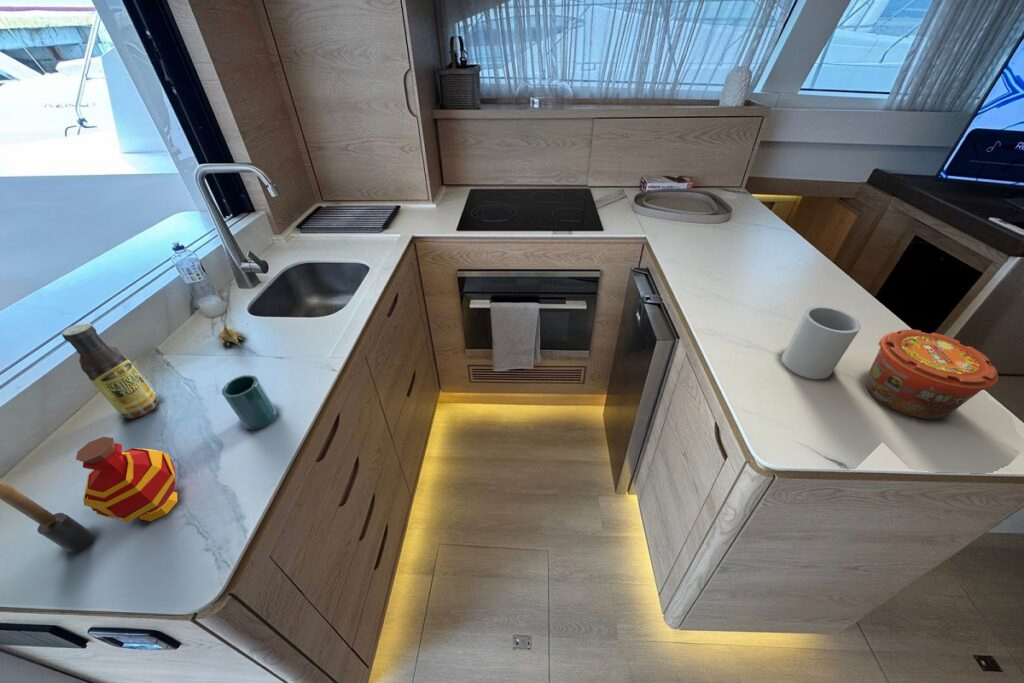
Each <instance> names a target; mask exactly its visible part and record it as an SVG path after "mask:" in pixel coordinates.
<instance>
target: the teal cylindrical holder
mask: <svg viewBox="0 0 1024 683" xmlns="http://www.w3.org/2000/svg"><path fill="white" fill-rule="evenodd" d="M221 395H222V397H223V398H224V400H225V401H226V402H227V404H228V405H229V406H230V408H231V409H232V411H233V412H234V414H235V415H236V416H237V418H238V419H239V421H240V422H241V423H242V425H243V426H244V428H245V429H247V430H251V431H257V430H260V429H263V428H266V427H267V426H269V425H270V424H272V423H273V421H275V419H276V417H277V415H278V411H277V409H276V408H275V406H274V404H273V402H272V400H271V399H270V397H269V395H268V394H267V392H266V390H265V389H264V386H262V383H261V382H260V380H259V378H258V377H257V376H255V375H252V374H243V375H239V376H237V377H235V378H233V379H231V380H230V381H228V382H226V383H225V385H224V386H223V387H222V389H221Z"/></svg>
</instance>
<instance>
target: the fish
mask: <svg viewBox="0 0 1024 683" xmlns="http://www.w3.org/2000/svg"><path fill="white" fill-rule="evenodd" d="M240 336H244V334H243V333H241V332H239V331H236V330H235V329H234V328H232V327H230V326H229V327H228V326H226V325H223V328H221V329H220V330H219V337H220V340H219V342H220V344H221V345H224V344H226V346H227V347H230V344H231V342H232V343H234V344H236V345H237V346H238V347H239V348H242V347H243V345H241V344H240V343H239V340H240V341H244V339H243V338H241V337H240Z"/></svg>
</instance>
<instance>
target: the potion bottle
mask: <svg viewBox="0 0 1024 683" xmlns="http://www.w3.org/2000/svg"><path fill="white" fill-rule="evenodd" d="M75 460H76V461H80V462H82V468H83V469H86V470H91V471H90V472H89V473H88V474H87V478H86V485H85V490H84V495H83V499H82V500H83V505H84V506H85V507H88V508H90V509H91V510H92V511H93V512H95V513H96V514H97V515H99V516H102V517H105V518H109V519H112V520H115V521H120V522H123V523H129V522H130V521H132V520H134V519H136V518H137V519H138V518H139V519H140V520H143V521H147V522H152V521H155V520H156V519H159V518H161V517H164V516H165V515H167V514H168V513H169V512H170V511H171V510H172V509H173V508H174V506H175V505H176V504H177V503H178V491H177V492H176V491H175V487H176V466H175V464H174V462H173V459H172V458H170V454H168V453H167V452H164V451H161V450H156V449H150V448H138V447H132V448H129V449H126V450H123V444H122V443H117V442H115V440H114V437H110V436H102V437H99V438H97V439H93V440H91V441H88V442H87V443H86V444H85V445H84V446H82V447H81V448H79V450H78V451H77V452H76V457H75Z"/></svg>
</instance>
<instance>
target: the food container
mask: <svg viewBox="0 0 1024 683" xmlns="http://www.w3.org/2000/svg"><path fill="white" fill-rule="evenodd" d="M878 345H879V349H878V352H877V354H876V356H875V358H874V360H873V362H872V364H871V367H870V369H869V370H868V373H867V375H866V377H865V379H864V385H865V388H866V390H867V391H868V393H869V394H870V396H871V397H873V398H874V399H875V400H876V401H878V402H879V403H881V404H883V405H884V406H886V407H887V408H889V409H891V410H893V411H895V412H897V413H900V414H903V415H906V416H909V417H912V418H916V419H920V420H941V419H944V418H947V417H948V416H949V415H951V413H953V412H954V411H956V410H957V409H959V408H960V407H962V405H964V404H966V403H967V401H969V400H971V399H972V398H974V397H975V396H976V395H978V394H979V393H980V392H981V391H985V390H988V389H991V388H993V387H994V386H995V385H997V383H998V380H999V374H998V370H997V369H996V367H995V366H994V365H993V364H992V363H991V362H990V361H991V359H989V358H988V357H987V356H986V355H985V354H984V353H982V352H981V351H979V350H978V349H976V348H974V347H973V346H965V345H964V344H961V341H960V340H958V339H955V338H953V337H949V336H947V335H944V334H940V333H936V332H932V333H927V332H922V330H920V329H900V330H898V331H891V332H889V333H886V334H885V335H883V336H882V337H881V339H880V340H879V342H878Z"/></svg>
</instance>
